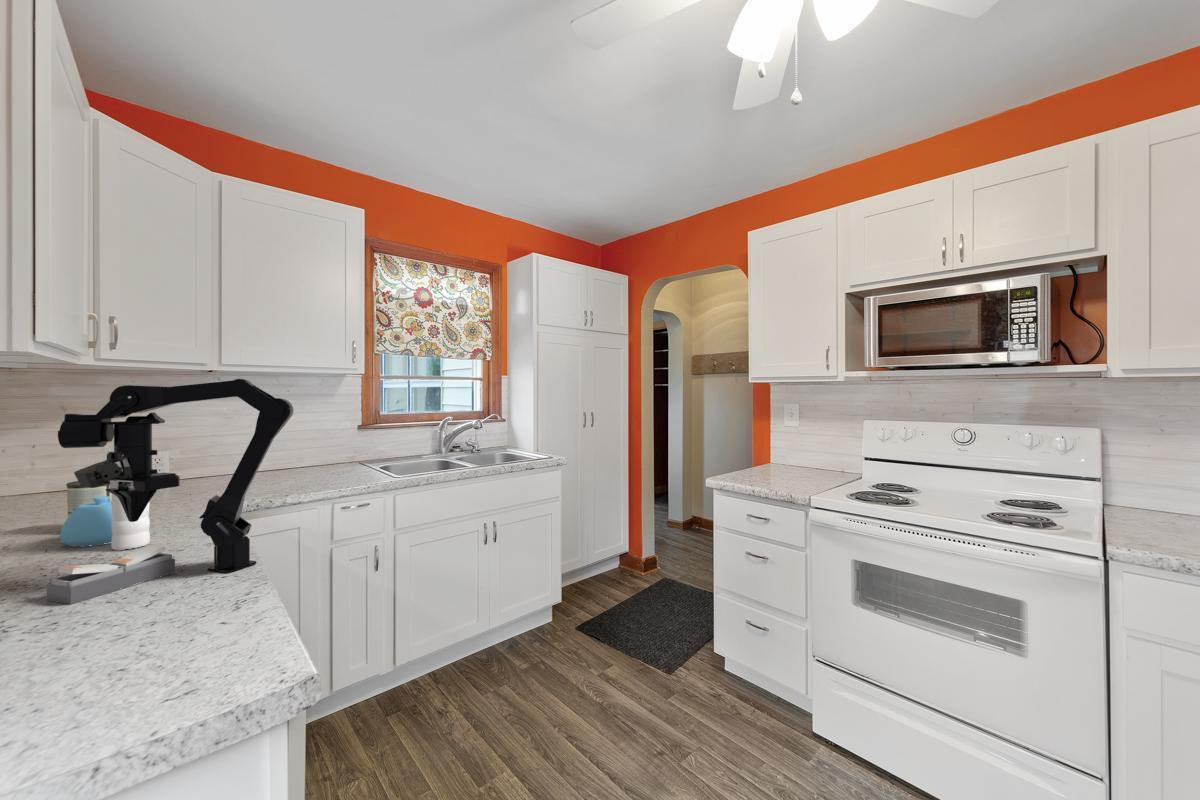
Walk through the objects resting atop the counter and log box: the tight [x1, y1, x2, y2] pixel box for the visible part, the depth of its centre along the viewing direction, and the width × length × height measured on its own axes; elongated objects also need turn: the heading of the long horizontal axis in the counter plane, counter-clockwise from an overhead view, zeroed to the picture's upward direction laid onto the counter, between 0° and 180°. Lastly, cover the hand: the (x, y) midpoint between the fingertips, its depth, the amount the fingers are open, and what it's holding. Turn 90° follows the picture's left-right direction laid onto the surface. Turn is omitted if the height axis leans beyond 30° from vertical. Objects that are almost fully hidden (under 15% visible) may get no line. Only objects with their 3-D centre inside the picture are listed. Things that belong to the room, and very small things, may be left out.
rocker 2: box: [112, 543, 166, 567], centre depth 103 cm, size 4×7×1 cm, turn 163°
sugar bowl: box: [59, 496, 113, 547], centre depth 131 cm, size 15×15×12 cm
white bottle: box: [111, 494, 151, 551], centre depth 124 cm, size 7×7×25 cm
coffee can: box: [66, 480, 112, 518], centre depth 141 cm, size 10×10×14 cm
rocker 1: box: [57, 563, 118, 575], centre depth 95 cm, size 4×7×1 cm, turn 163°
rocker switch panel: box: [46, 552, 176, 605], centre depth 99 cm, size 7×17×4 cm, turn 163°
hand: (133, 521), depth 102 cm, fingers closed
